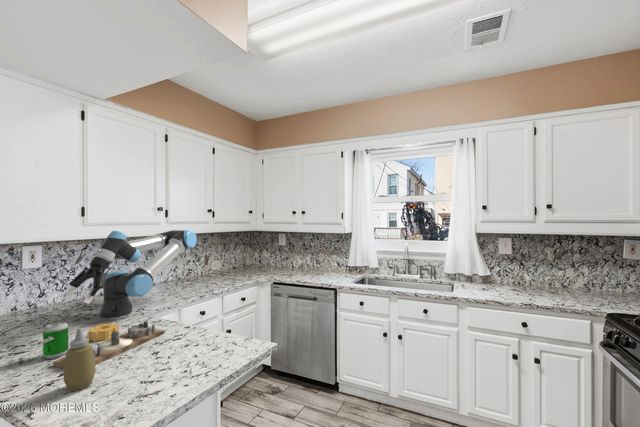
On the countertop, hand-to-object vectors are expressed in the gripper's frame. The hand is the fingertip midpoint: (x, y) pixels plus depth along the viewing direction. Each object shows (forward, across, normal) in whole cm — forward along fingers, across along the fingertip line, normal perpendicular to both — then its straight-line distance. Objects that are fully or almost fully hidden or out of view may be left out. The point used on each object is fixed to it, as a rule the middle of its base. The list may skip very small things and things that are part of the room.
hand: (75, 301), depth 139 cm
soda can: (+22, +15, -4) cm, 27 cm away
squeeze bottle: (+29, +48, -14) cm, 57 cm away
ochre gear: (+11, +14, +11) cm, 21 cm away
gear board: (+15, +31, +6) cm, 34 cm away
